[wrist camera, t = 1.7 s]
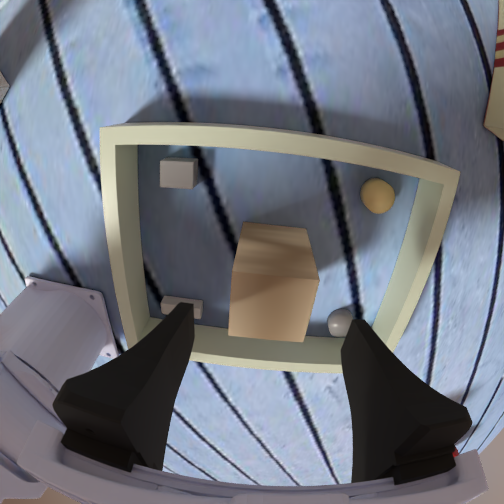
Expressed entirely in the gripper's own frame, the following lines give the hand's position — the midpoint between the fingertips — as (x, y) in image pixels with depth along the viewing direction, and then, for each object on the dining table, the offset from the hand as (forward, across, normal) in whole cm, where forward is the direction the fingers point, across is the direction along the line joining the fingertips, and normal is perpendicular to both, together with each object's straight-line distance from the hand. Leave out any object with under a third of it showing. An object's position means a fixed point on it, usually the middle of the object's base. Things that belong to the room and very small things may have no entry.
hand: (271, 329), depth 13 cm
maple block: (+8, 0, 0) cm, 8 cm away
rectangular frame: (+7, 0, 0) cm, 7 cm away
